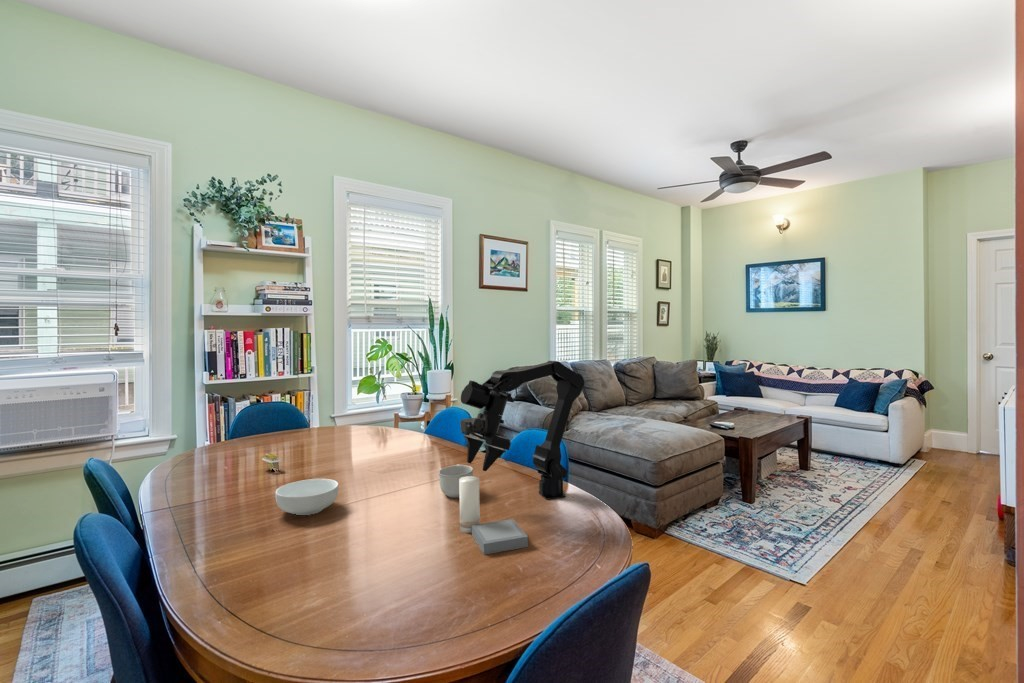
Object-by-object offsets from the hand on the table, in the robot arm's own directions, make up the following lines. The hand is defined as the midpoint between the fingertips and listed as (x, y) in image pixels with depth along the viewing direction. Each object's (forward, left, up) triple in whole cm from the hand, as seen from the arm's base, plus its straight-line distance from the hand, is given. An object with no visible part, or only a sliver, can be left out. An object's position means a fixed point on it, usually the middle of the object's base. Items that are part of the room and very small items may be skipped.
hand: (476, 466), depth 132 cm
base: (-1, +18, -13) cm, 23 cm away
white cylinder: (+4, +9, -13) cm, 17 cm away
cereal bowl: (+45, -20, -14) cm, 51 cm away
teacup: (+1, -19, -14) cm, 23 cm away
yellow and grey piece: (+61, -67, -14) cm, 92 cm away
